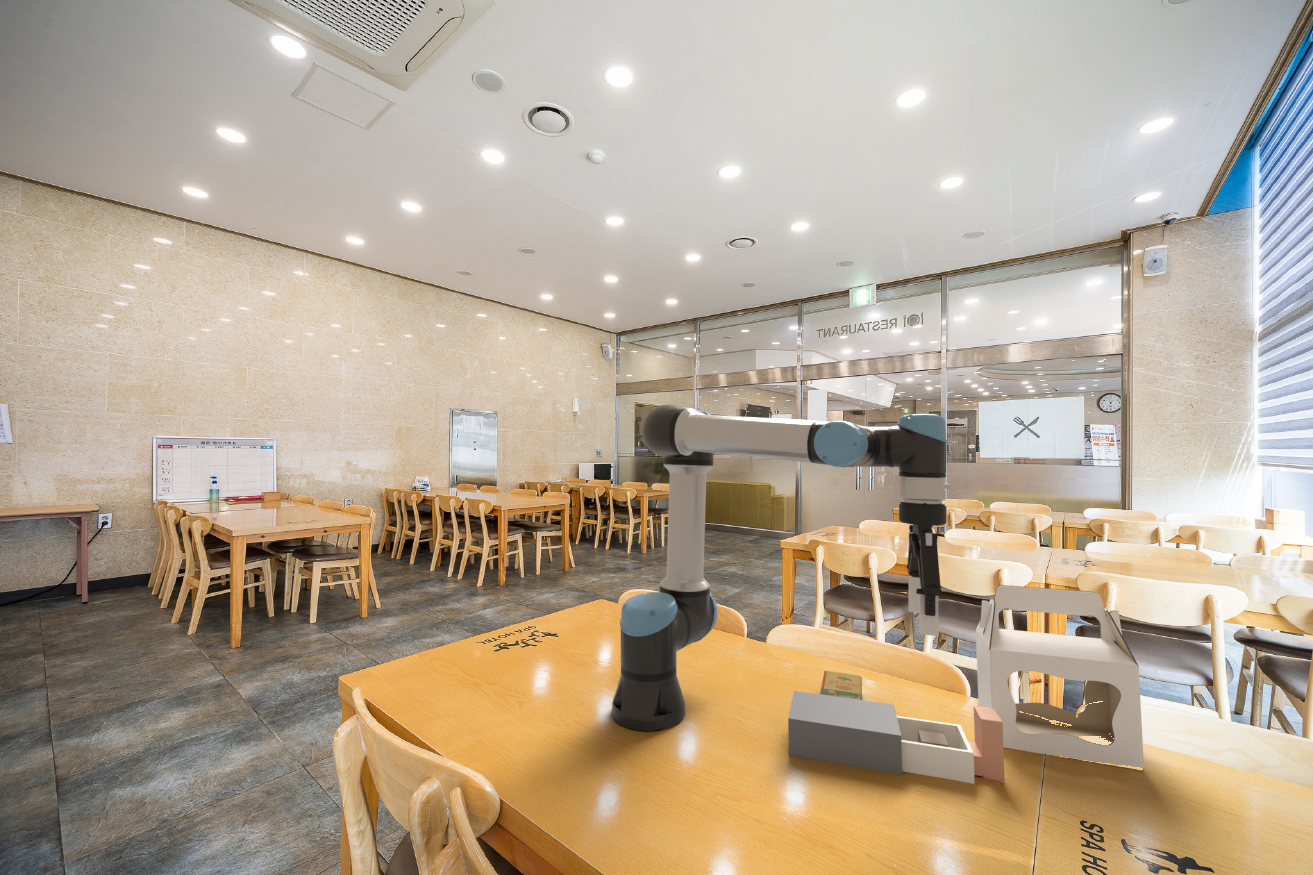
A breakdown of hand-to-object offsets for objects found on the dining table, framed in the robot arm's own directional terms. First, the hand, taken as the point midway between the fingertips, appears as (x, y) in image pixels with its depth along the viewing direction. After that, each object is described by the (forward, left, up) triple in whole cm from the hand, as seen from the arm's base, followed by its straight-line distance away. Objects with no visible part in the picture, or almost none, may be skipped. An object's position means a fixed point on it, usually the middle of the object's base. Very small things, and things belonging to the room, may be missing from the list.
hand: (922, 622), depth 92 cm
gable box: (+23, +16, -24) cm, 37 cm away
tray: (0, -1, -23) cm, 23 cm away
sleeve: (-14, -1, -24) cm, 27 cm away
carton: (-14, +18, -24) cm, 33 cm away
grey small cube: (+1, -1, -23) cm, 23 cm away
